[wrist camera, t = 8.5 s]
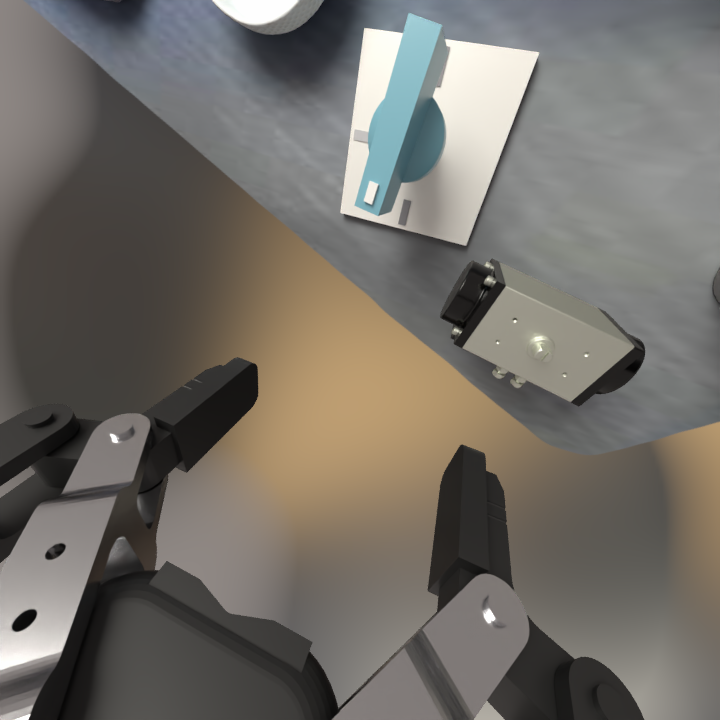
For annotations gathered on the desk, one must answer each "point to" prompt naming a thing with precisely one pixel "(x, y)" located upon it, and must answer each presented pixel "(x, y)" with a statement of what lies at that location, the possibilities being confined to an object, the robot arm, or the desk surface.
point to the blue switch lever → (406, 119)
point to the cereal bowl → (269, 13)
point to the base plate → (463, 132)
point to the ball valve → (539, 333)
